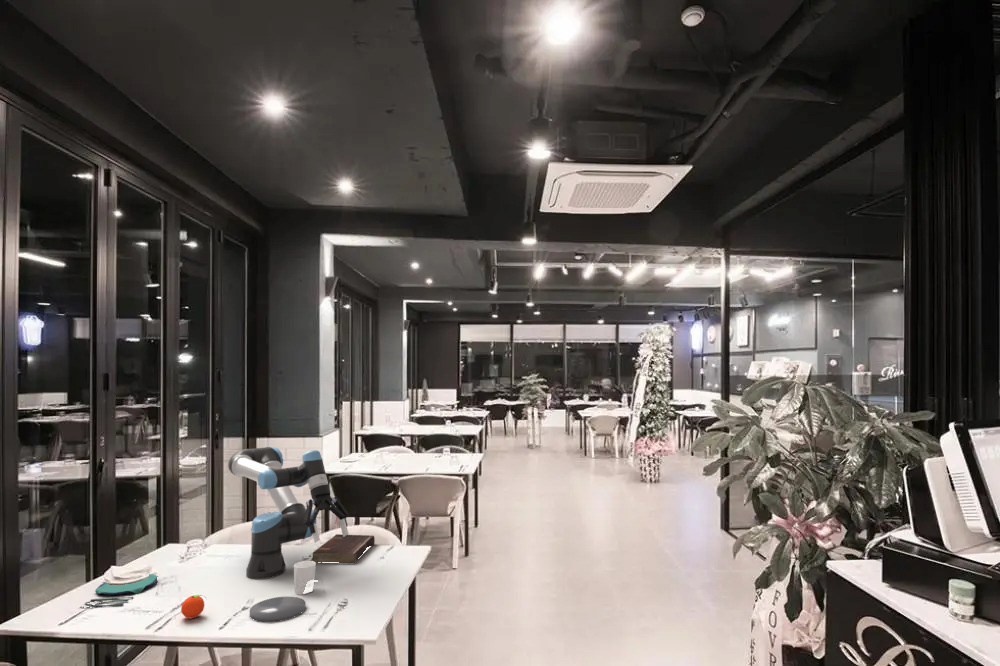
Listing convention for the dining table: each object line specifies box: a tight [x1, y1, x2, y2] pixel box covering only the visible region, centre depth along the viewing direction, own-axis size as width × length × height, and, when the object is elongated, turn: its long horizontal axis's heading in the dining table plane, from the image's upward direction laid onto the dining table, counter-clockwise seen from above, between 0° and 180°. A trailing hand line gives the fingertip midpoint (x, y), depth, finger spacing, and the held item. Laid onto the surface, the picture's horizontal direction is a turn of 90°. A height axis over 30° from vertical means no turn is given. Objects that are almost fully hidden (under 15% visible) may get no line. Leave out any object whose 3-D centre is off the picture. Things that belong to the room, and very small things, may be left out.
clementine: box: [180, 594, 207, 619], centre depth 196 cm, size 8×7×7 cm
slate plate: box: [249, 596, 307, 623], centre depth 200 cm, size 18×18×2 cm
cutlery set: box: [79, 573, 159, 609], centre depth 219 cm, size 20×30×2 cm, turn 6°
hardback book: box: [311, 534, 376, 564], centre depth 264 cm, size 29×19×5 cm, turn 176°
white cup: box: [293, 560, 317, 596], centre depth 218 cm, size 8×8×10 cm
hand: (331, 538), depth 230 cm, fingers open, 13 cm apart
